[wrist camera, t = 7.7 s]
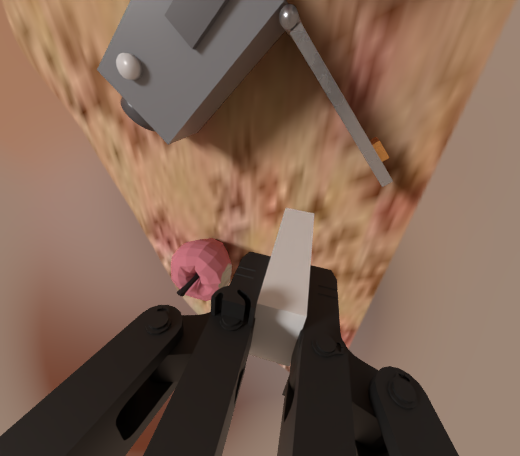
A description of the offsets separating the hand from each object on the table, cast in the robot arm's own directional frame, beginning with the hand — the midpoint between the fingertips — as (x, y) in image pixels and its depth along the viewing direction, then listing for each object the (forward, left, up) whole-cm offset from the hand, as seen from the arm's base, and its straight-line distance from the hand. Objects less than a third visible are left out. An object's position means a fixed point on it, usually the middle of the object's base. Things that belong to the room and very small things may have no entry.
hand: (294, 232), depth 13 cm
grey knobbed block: (+3, -15, -19) cm, 25 cm away
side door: (-6, -2, -19) cm, 20 cm away
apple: (+22, +3, -20) cm, 29 cm away
